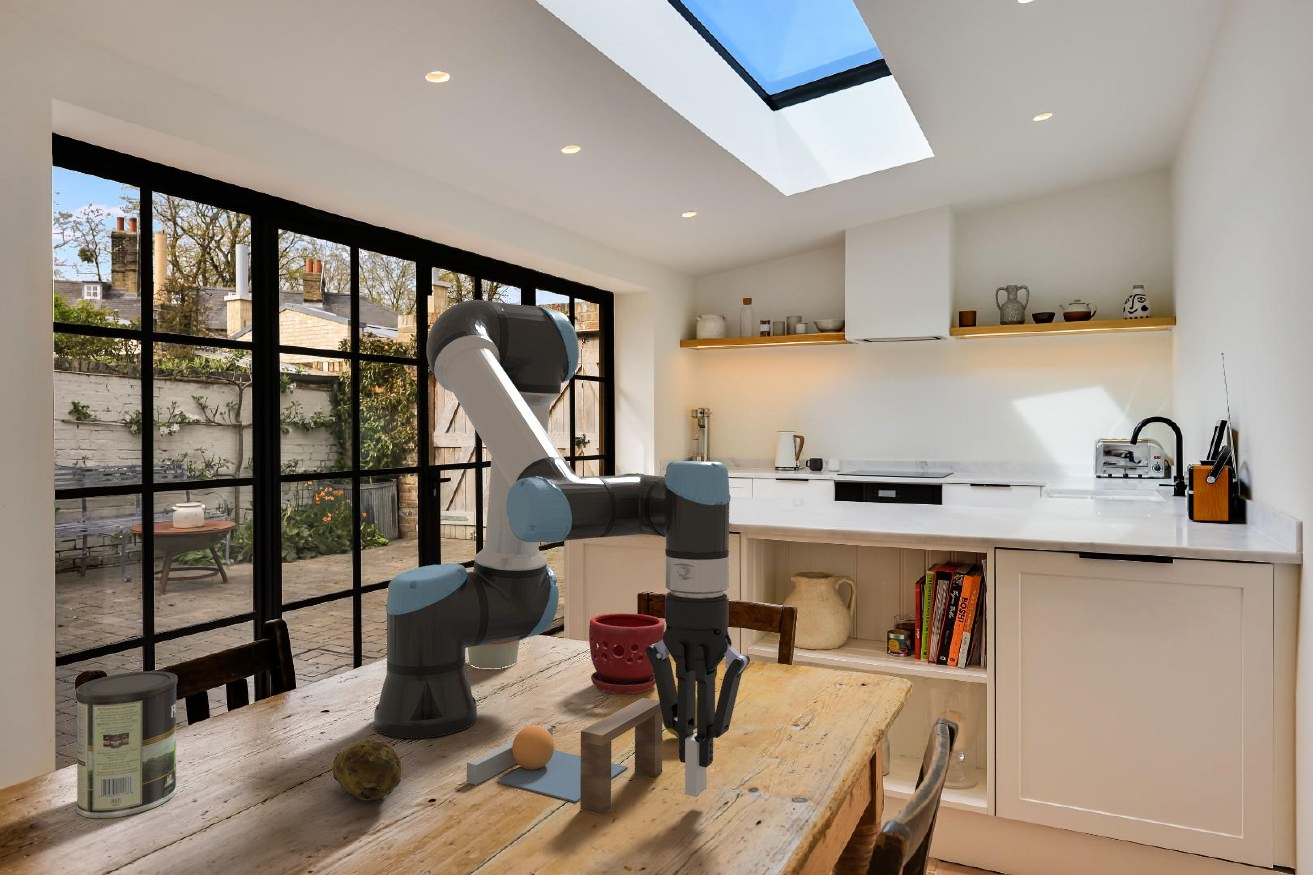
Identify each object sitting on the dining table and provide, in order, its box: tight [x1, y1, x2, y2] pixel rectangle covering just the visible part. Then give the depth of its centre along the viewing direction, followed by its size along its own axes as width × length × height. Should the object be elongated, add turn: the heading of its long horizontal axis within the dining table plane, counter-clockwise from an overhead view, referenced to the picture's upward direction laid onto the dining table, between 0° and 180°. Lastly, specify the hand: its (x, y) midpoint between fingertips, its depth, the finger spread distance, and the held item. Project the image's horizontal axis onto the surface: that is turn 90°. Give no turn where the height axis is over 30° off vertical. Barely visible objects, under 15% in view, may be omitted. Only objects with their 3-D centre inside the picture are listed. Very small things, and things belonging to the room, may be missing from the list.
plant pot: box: [588, 613, 665, 695], centre depth 147 cm, size 13×13×12 cm
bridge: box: [579, 697, 663, 816], centre depth 104 cm, size 3×14×9 cm, turn 151°
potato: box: [331, 739, 403, 801], centre depth 100 cm, size 8×13×8 cm, turn 16°
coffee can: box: [75, 670, 179, 819], centre depth 100 cm, size 10×10×14 cm
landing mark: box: [497, 749, 629, 804], centre depth 108 cm, size 12×12×1 cm
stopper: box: [466, 724, 554, 786], centre depth 112 cm, size 2×16×2 cm, turn 151°
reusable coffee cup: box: [467, 640, 521, 668], centre depth 161 cm, size 13×13×15 cm
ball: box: [512, 724, 555, 770], centre depth 110 cm, size 6×6×6 cm
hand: (695, 791), depth 99 cm, fingers closed
